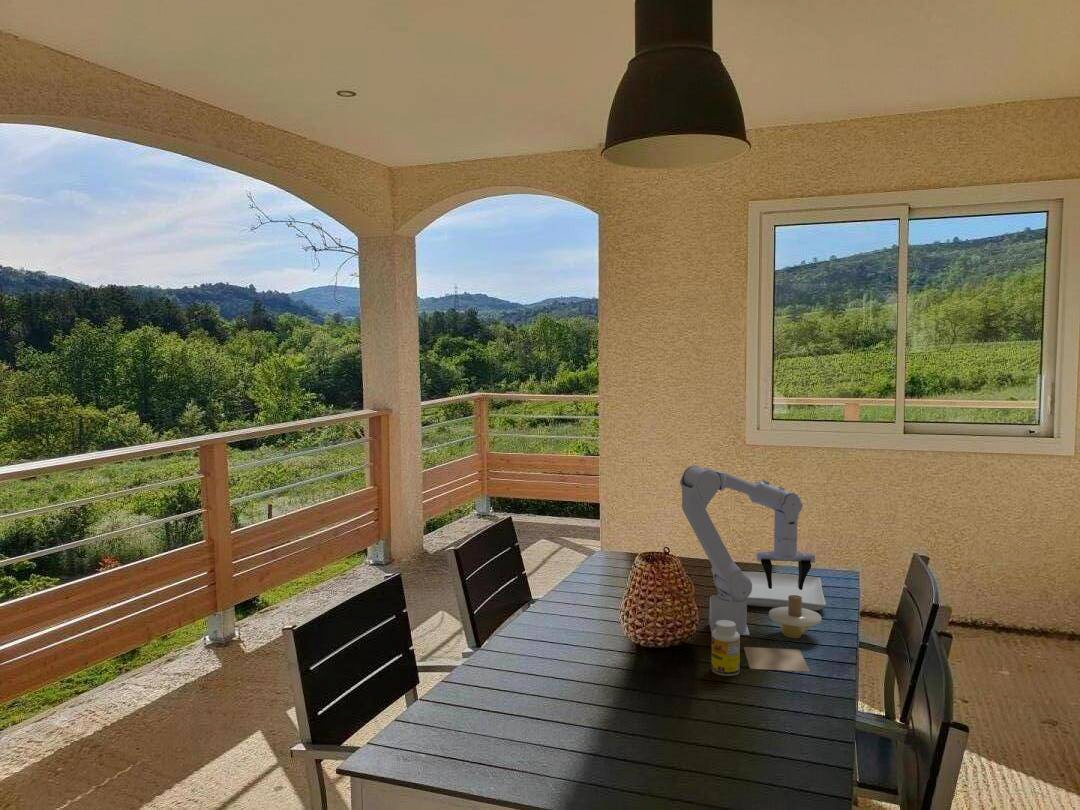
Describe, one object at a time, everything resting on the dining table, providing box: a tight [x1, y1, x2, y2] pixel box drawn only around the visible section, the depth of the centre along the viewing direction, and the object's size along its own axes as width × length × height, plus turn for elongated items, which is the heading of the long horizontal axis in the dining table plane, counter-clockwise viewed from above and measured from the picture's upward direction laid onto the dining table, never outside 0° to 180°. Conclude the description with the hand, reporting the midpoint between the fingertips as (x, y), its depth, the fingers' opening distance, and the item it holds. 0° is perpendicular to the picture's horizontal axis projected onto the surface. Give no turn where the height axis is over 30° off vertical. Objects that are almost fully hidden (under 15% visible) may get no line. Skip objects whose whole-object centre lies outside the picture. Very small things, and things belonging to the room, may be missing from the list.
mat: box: [743, 646, 811, 673], centre depth 178 cm, size 13×13×1 cm
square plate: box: [741, 570, 827, 611], centre depth 226 cm, size 27×27×4 cm
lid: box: [768, 595, 822, 627], centre depth 192 cm, size 12×12×5 cm
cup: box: [779, 623, 811, 639], centre depth 193 cm, size 12×12×5 cm
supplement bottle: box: [710, 620, 741, 677], centre depth 171 cm, size 6×6×11 cm
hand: (785, 588), depth 201 cm, fingers open, 7 cm apart
